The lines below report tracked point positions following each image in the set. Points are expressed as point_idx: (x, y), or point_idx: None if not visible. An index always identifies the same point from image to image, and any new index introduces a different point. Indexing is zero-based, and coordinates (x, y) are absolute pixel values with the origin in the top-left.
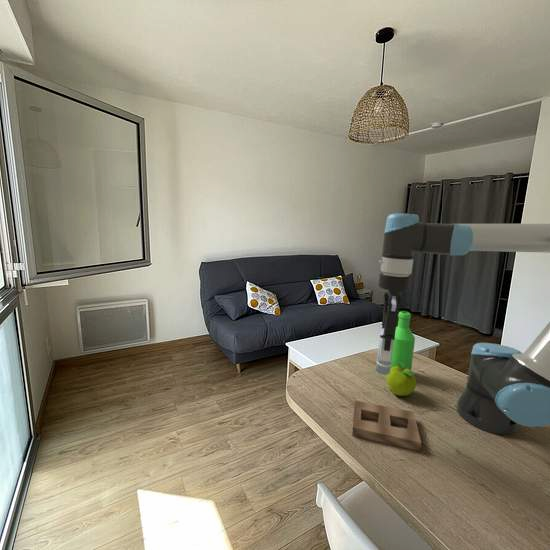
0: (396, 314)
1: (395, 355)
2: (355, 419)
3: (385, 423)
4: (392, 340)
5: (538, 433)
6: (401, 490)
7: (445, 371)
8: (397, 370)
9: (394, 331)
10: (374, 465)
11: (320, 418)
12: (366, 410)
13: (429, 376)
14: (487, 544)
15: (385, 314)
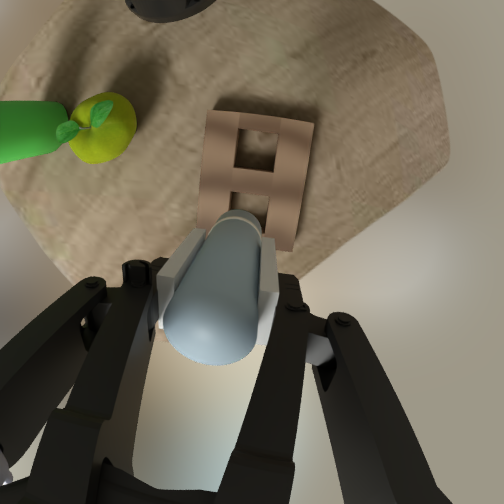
0: (424, 479)
1: (29, 142)
2: None
3: (266, 182)
4: (278, 291)
5: None
6: (395, 186)
7: (37, 40)
8: (89, 139)
9: (373, 360)
10: (356, 216)
11: None
12: None
13: (52, 65)
14: (445, 111)
15: (135, 420)
